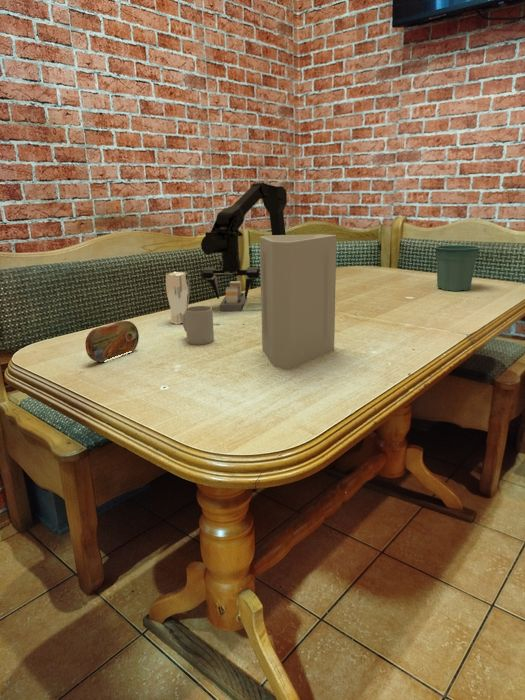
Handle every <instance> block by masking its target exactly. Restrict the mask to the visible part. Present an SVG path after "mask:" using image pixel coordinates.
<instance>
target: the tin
mask: <svg viewBox="0 0 525 700" xmlns="http://www.w3.org/2000/svg"><path fill="white" fill-rule="evenodd" d="M139 339H140V334H139V329H138V328H137V326H136V325H135V324H134V322H131V321H128V320H119V321H115V322H112V323H108V324H105V325H103V326H99V327H96V328H93V329H92V330H91V331H90V332H89V333H88V334H87V336H86V339H85V342H84V343H85V350H86V354H87V356H88V358H90V359H91V360H92V361H95V362H98V361H99V363H102V362H104V361H105V360H107V359H110V358H112V357H115V356H118V355H121V354H124V353H126V352H129V351H133V350H134V351H135V350H136V349H137V347H138V344H139ZM134 351H133V352H134Z"/></svg>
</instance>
